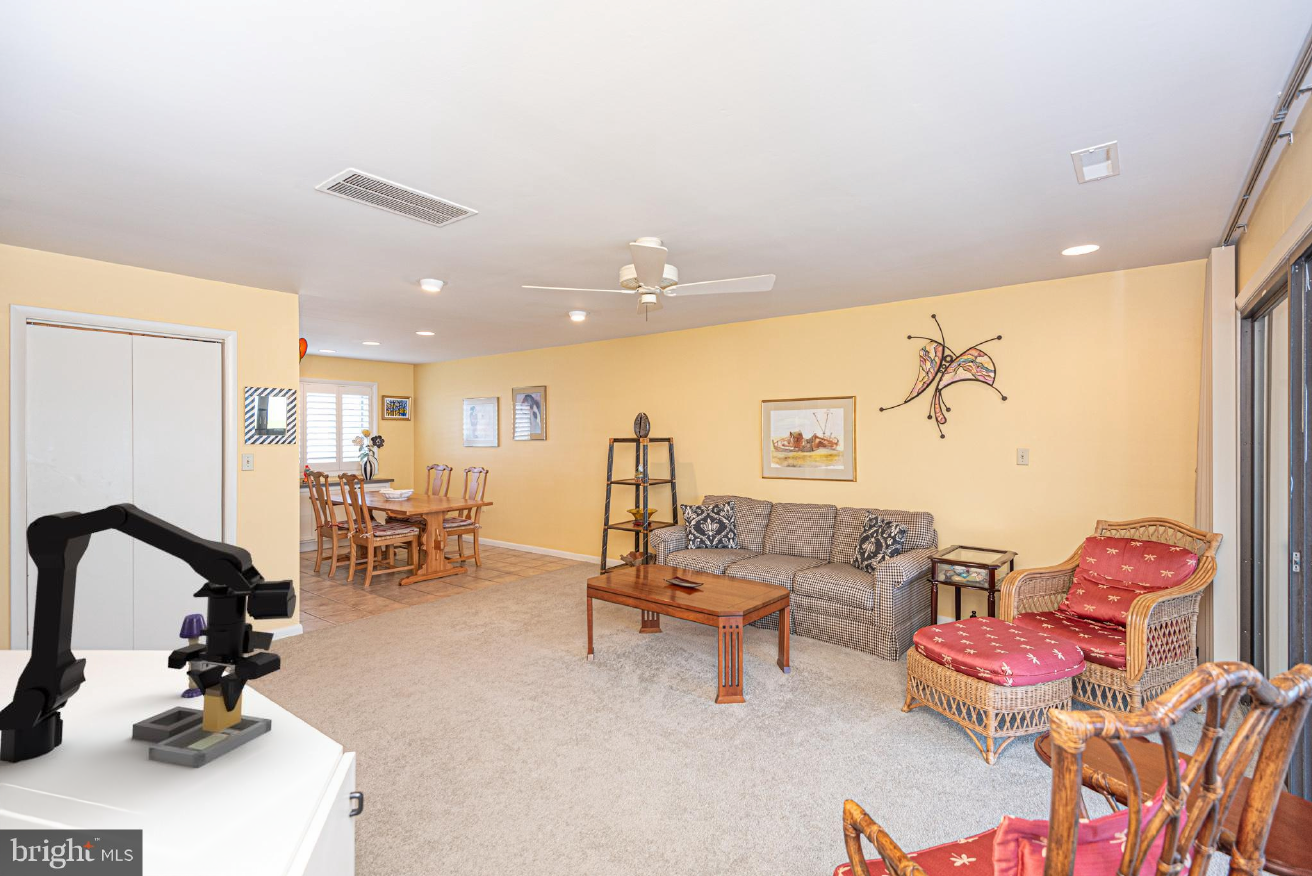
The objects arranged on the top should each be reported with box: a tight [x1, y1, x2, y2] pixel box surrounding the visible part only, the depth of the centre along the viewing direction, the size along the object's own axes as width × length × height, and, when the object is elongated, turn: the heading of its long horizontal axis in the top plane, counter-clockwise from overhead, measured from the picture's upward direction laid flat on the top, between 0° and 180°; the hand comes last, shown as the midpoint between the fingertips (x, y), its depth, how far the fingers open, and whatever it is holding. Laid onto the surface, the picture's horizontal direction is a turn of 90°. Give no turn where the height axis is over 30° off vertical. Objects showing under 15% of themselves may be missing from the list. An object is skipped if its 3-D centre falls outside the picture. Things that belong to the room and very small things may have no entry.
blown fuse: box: [202, 684, 243, 733], centre depth 110 cm, size 5×3×7 cm
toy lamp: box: [179, 613, 207, 699], centre depth 127 cm, size 5×5×17 cm
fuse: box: [186, 732, 230, 752], centre depth 104 cm, size 5×3×2 cm, turn 167°
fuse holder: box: [131, 705, 203, 744], centre depth 111 cm, size 8×8×3 cm
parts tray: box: [148, 714, 273, 769], centre depth 107 cm, size 14×10×2 cm
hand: (222, 709), depth 110 cm, fingers closed on blown fuse, 3 cm apart
